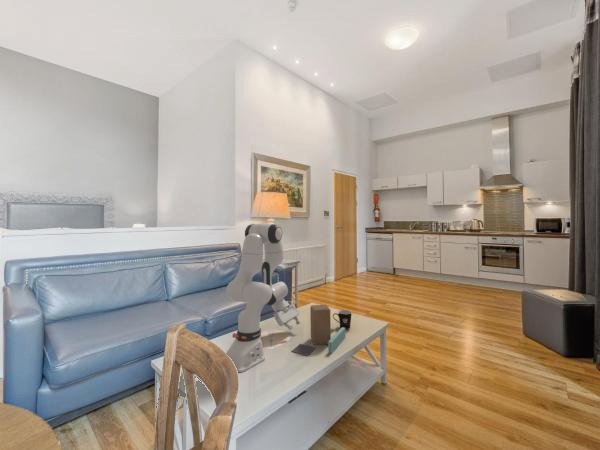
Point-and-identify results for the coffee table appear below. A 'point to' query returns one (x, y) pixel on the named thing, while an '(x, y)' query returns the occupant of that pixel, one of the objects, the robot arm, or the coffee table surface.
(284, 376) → the coffee table surface
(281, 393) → the coffee table surface
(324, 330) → the block
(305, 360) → the coffee table surface
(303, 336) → the coffee table surface
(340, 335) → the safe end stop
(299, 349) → the mats
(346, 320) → the coffee mug
